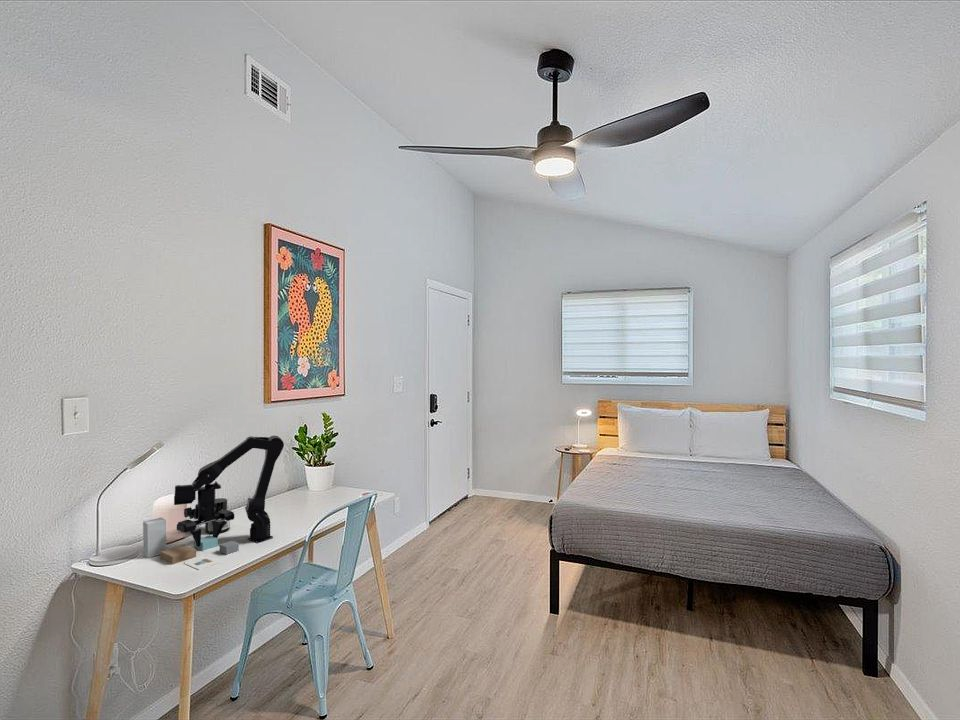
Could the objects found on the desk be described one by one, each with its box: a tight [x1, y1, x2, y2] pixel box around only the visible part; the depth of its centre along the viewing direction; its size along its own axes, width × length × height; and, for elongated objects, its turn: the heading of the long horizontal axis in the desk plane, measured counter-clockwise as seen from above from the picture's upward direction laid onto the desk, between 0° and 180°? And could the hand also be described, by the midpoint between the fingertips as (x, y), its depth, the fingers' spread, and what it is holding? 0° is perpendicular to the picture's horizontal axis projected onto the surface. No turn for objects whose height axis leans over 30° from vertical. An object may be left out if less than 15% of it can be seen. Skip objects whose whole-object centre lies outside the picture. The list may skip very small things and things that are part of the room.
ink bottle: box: [204, 497, 231, 535], centre depth 208 cm, size 10×9×12 cm
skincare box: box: [142, 517, 167, 559], centre depth 183 cm, size 6×4×12 cm
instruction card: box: [183, 556, 220, 571], centre depth 176 cm, size 7×9×1 cm
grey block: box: [219, 540, 240, 556], centre depth 187 cm, size 4×4×3 cm
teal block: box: [194, 534, 219, 552], centre depth 191 cm, size 6×6×3 cm
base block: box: [159, 544, 197, 565], centre depth 180 cm, size 8×8×3 cm
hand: (206, 543), depth 191 cm, fingers closed on teal block, 6 cm apart
